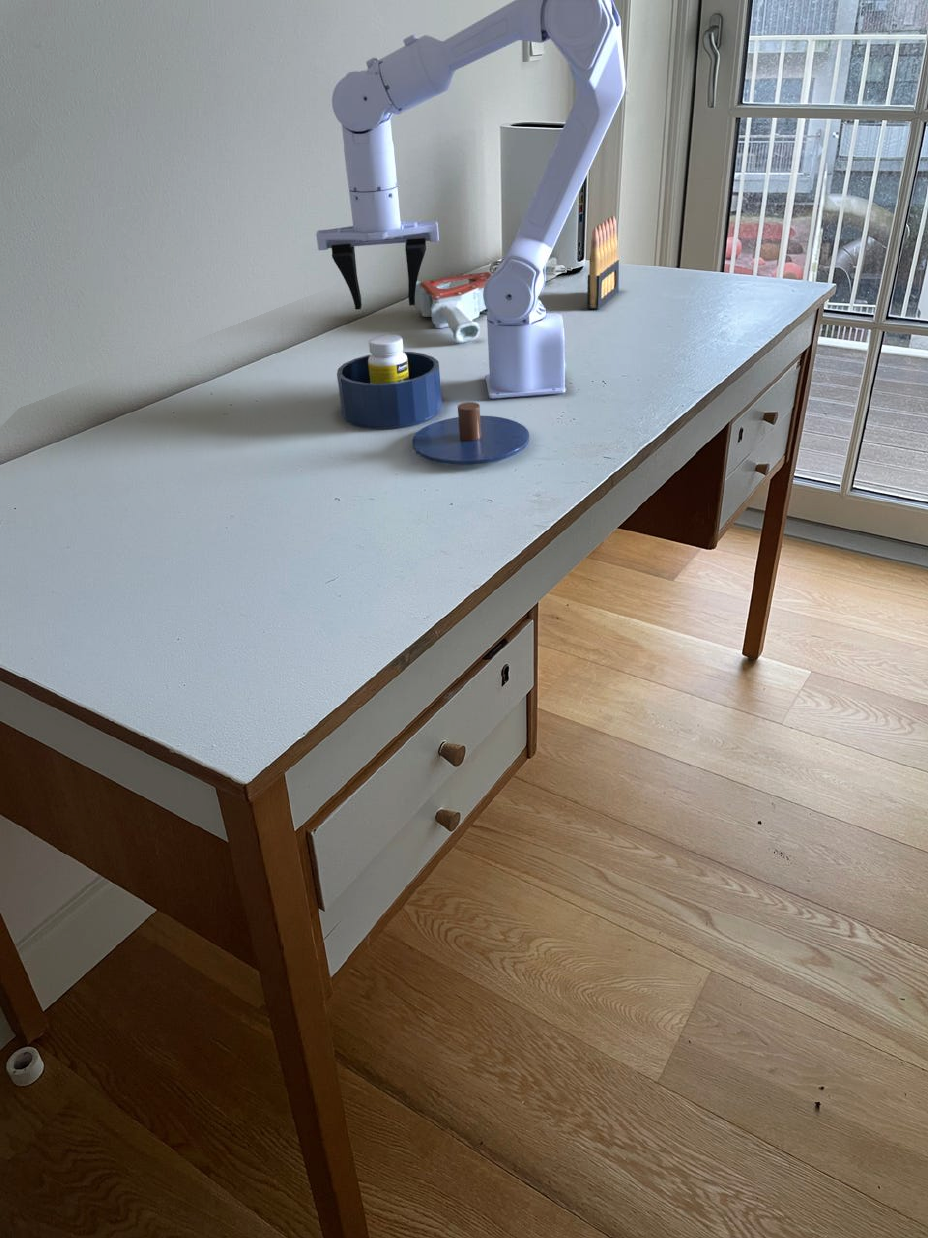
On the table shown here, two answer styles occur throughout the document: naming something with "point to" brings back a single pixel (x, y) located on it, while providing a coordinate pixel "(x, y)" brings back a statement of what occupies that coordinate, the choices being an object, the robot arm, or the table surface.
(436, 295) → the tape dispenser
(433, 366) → the tin
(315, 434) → the table surface
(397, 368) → the supplement bottle
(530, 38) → the robot arm
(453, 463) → the tin lid
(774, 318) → the table surface
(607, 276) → the ammunition clip
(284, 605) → the table surface
